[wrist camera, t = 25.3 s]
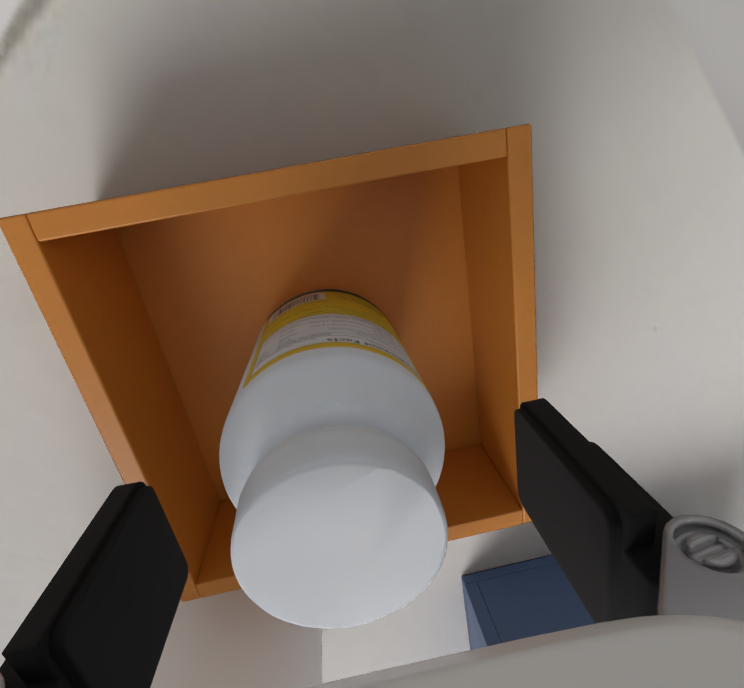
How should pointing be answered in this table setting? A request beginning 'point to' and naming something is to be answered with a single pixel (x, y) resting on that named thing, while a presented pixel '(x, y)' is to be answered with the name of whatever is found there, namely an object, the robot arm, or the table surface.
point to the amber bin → (278, 284)
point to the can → (237, 647)
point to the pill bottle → (333, 466)
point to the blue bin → (520, 602)
